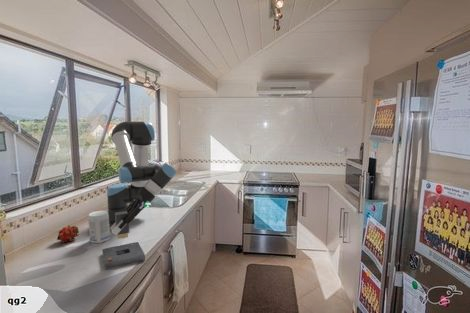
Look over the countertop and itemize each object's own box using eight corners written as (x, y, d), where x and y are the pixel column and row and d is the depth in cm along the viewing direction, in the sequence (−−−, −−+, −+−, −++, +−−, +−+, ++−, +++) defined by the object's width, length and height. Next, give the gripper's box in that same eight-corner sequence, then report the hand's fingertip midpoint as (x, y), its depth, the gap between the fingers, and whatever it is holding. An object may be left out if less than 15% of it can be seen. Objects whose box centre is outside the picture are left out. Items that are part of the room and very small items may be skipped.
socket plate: (102, 254, 123) (102, 247, 123) (138, 246, 132) (137, 240, 131) (105, 269, 110) (105, 262, 109) (145, 260, 118) (144, 253, 118)
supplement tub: (110, 235, 146) (108, 209, 144) (110, 241, 137) (108, 214, 136) (90, 238, 141) (88, 211, 140) (89, 245, 133) (87, 217, 131)
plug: (116, 236, 120) (115, 212, 119) (127, 234, 123) (126, 211, 121) (117, 239, 117) (116, 215, 116) (129, 237, 119) (128, 213, 118)
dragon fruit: (81, 238, 144) (60, 251, 134) (70, 229, 146) (49, 240, 135) (85, 228, 141) (65, 240, 130) (74, 218, 142) (53, 229, 131)
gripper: (160, 200, 118) (122, 243, 112) (151, 192, 133) (117, 230, 126) (147, 189, 115) (108, 233, 108) (140, 183, 130) (104, 221, 123)
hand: (113, 231), depth 117 cm, fingers closed on plug, 4 cm apart
